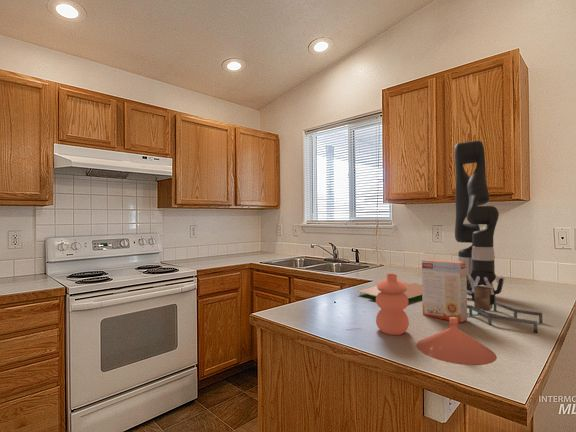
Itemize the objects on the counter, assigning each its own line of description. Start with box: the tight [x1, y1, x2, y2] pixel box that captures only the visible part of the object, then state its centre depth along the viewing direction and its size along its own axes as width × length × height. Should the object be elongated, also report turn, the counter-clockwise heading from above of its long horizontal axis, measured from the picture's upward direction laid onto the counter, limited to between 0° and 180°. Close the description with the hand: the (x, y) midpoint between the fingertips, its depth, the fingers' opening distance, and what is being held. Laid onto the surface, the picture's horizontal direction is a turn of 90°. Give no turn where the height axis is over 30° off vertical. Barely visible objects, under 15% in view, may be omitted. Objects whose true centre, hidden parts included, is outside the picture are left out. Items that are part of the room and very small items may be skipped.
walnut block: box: [473, 285, 493, 311], centre depth 132 cm, size 5×5×8 cm
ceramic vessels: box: [375, 272, 497, 366], centre depth 101 cm, size 35×21×19 cm, turn 39°
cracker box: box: [421, 258, 468, 324], centre depth 126 cm, size 14×6×21 cm, turn 41°
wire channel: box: [467, 297, 544, 334], centre depth 128 cm, size 32×22×4 cm
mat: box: [467, 308, 482, 316], centre depth 136 cm, size 10×11×1 cm
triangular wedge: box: [357, 282, 422, 302], centre depth 159 cm, size 23×33×8 cm
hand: (483, 303), depth 132 cm, fingers closed on walnut block, 5 cm apart
